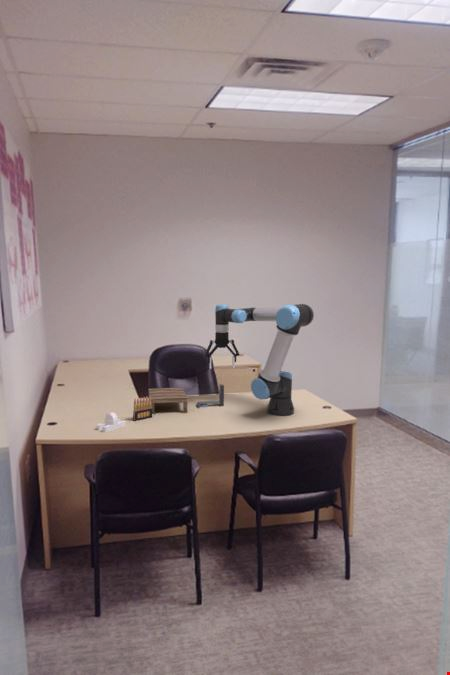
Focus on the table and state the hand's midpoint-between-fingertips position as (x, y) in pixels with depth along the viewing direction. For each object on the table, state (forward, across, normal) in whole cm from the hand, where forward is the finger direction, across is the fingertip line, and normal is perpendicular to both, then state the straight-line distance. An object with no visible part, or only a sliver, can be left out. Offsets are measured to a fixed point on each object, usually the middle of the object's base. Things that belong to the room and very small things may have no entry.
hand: (221, 368), depth 290 cm
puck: (+22, +11, 0) cm, 25 cm away
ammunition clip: (+22, +46, +19) cm, 55 cm away
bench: (+22, +32, 0) cm, 39 cm away
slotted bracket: (+22, +62, +31) cm, 73 cm away
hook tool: (+22, +7, 0) cm, 23 cm away
